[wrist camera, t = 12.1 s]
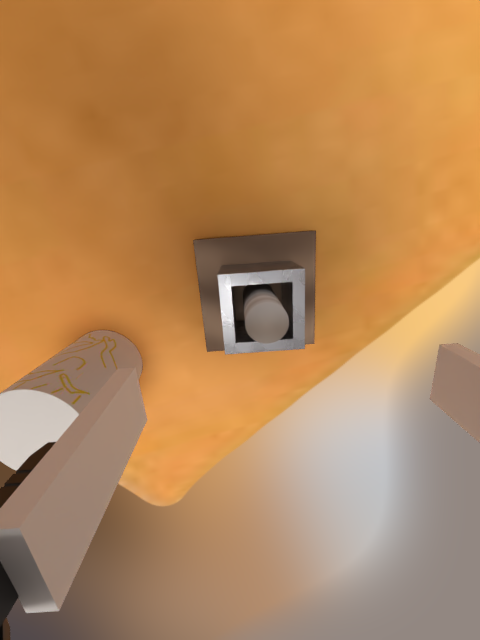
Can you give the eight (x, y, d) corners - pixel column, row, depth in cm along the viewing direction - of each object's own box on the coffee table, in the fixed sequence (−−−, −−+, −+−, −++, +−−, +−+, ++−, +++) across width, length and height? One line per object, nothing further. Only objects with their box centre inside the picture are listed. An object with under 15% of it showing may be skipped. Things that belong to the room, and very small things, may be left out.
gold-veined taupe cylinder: (139, 330, 31) (82, 390, 19) (145, 392, 33) (98, 477, 22) (66, 329, 30) (-35, 388, 19) (78, 391, 33) (-5, 477, 22)
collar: (221, 265, 27) (217, 274, 22) (290, 260, 27) (305, 268, 21) (227, 330, 29) (225, 354, 24) (291, 325, 29) (304, 348, 24)
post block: (194, 239, 28) (173, 245, 18) (312, 230, 27) (354, 230, 18) (208, 347, 31) (195, 399, 22) (311, 339, 31) (345, 388, 22)
